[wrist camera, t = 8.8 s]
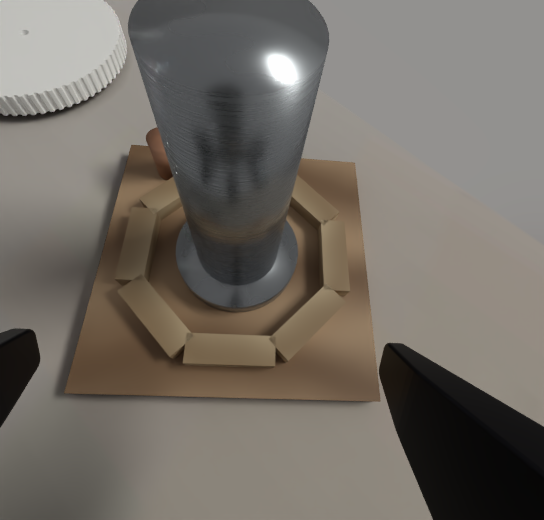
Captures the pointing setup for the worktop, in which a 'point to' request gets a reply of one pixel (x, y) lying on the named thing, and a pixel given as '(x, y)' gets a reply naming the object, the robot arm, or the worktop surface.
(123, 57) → the plastic lid
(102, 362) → the socket board
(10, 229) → the worktop surface
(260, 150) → the grey metal cylinder
